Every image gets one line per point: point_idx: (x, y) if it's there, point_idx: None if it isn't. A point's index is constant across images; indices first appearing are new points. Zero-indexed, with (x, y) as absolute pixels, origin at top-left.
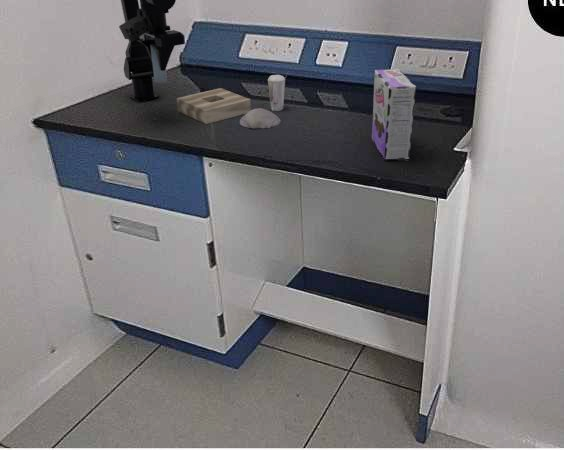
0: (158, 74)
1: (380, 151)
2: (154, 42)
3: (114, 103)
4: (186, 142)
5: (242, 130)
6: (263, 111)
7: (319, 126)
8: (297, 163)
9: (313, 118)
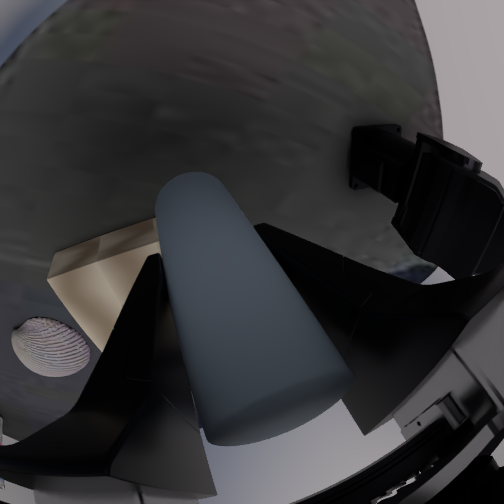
0: (164, 217)
1: None
2: (373, 388)
3: (384, 71)
4: None
5: (8, 311)
6: (36, 372)
7: (31, 393)
8: None
9: (66, 398)
